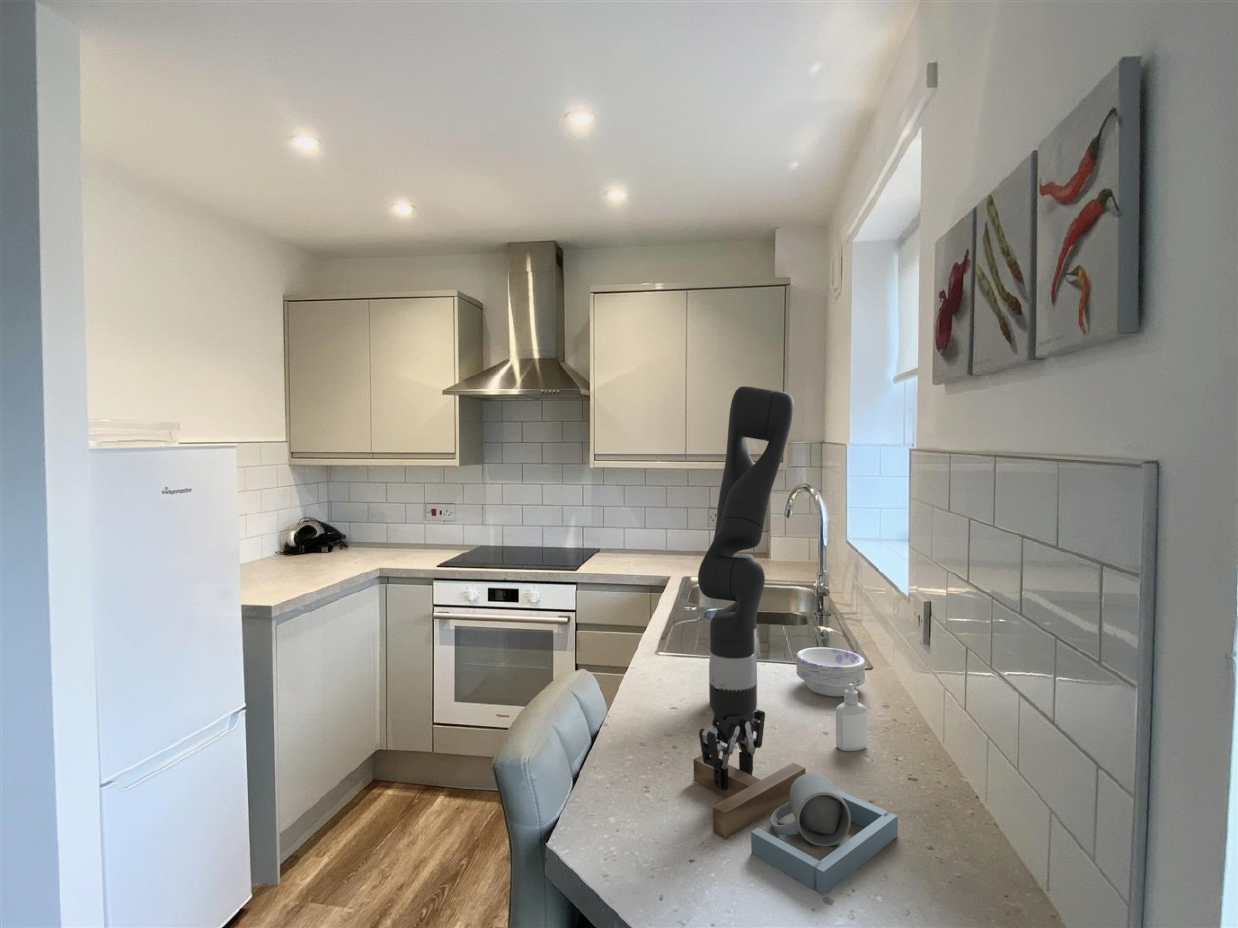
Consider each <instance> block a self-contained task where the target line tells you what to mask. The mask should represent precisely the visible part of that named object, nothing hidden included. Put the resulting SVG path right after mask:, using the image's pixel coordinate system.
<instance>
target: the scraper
mask: <svg viewBox="0 0 1238 928" xmlns="http://www.w3.org/2000/svg"><path fill="white" fill-rule="evenodd" d="M710 757H711V755H710ZM692 761H693V783H694V782H695V784H696V783H697V785H698V784H699V785H698V786H701V787H702V788H704V789H707V790H708V791H710V792H712V793H713V794H715V795H717V796H719V797H721V798H723V799H724V800H722V801H719V802H718V803H717V804H714V805H712V832H713V834H715V835H717V836H718V837H719V838H722V839H723V840H725V841H726V840H728V839H729V838H731V837H733V836H735V835H736V834H737V833H740V832H742V831H743V830H744V829H746V828H748V827H749V826H751V825H753V824H754V823H756V822H758V821H759V820H761V819H763V818H765V817H767V815H769V814H772V813H773V812H774V811H775V810H776V809H777V808H779V807H780V806H782V805H784V804H786V803H789V802H790V789H791V786H792V784H793V782H794V781H795V780H796V779H797V778H798V777H799V776H801V775H803V774H806V771H807V770H806V767H805V766H802V765H799V764H797V763H794V762H791V763H790V764H788V765H786V766H785V767H783V768H780V769H779V770H777V771H775V772H774V773H772V774H770V775H768V776H766V777H763V779H760V778H758V777H756V776H753V774H752V775H750V774H748V773H746V772H743V771H741V770H739V768H737V767H735V766H733V765H731V764H728V765H727V768H728V790H726V791H722V790H720V789H718V788H717V787H716V786H715V784H714V768H713V767H712V766H709V765H707V764H705V763H704V762H703V756H702V755H699V756H697V757H695V758H693V760H692Z"/></svg>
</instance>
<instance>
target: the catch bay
mask: <svg viewBox="0 0 1238 928" xmlns="http://www.w3.org/2000/svg"><path fill="white" fill-rule="evenodd" d="M836 790H837V791H838V793H839V794H840V795H841V797H842V799H843V800H844V801H845V803H846V804H847V806H848V808H849V811H850V816H851V822H852V823H855V824H858V826H862V827H864V828H862V830H861V831H859V832H858V833H856V834H854V836H852V837H851V838H850V839H848V840H847V841H845V842H844V843H843V844H841V845H840V846H838V847H837V848H836V849H835V850H833V851H831V853H829V854H828V855H826V856H824V857H823V858H822V859H820V860H819V859H817V858H814V857H813V856H811V855H810V854H807V853H806V852H804V851H801V850H800V849H798V848H796V847H794V846H793V845H791V844H789V843H788V842H786V841H783V840H781V839H780V838H778V837H776V836H774V835H772V834H770V833H769V832H767V831H764V829H761V828H759V827H756V828H755V829H754V830H751V832H750V837H751V838H750V840H751V843H750V844H751V848H750V849H751V854H752V855H754V856H756V857H758V858H760V859H762V860H763V861H765V862H766V863H768V864H770V865H772V866H773V867H775V868H777V869H778V870H780V871H781V872H784V873H785V874H786V875H789V876H790V877H791V878H794V879H795V880H797V881H799V882H800V883H802V884H804V885H806V886H807V887H809V888H811V889H812V890H814V891H816V892H818V893H819V894H821V895H823V896H824V895H826V894H827V893H828V892H829V891H831V890H832V889H833V888H834V887H835V886H837V885H838V884H840V883H841V882H842V881H843V880H844V879H846V878H847V877H848V876H850V875H851V874H852V873H854V871H856V870H857V869H858V868H859V867H861V866H862V865H863V864H865V863H866V862H867V861H868V860H870V859H871V858H872V857H873V856H874V855H876V854H877V853H879V851H881V850H882V849H884V847H886V846H887V845H888V844H890V843H891V842H893V841H894V840H895V839H896V838H897V837H898V836H899V835H898V833H899V832H898V831H899V828H898V827H899V823H898V815H897V814H894V813H892V812H890V811H888V810H885V809H883V808H881V807H878V806H876V805H874V804H872V803H869V802H866V801H865V800H863V799H859V798H857V797H855V796H853V795H851V794H848V793H846V792H844V791H842V790H839V789H837V788H836Z"/></svg>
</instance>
